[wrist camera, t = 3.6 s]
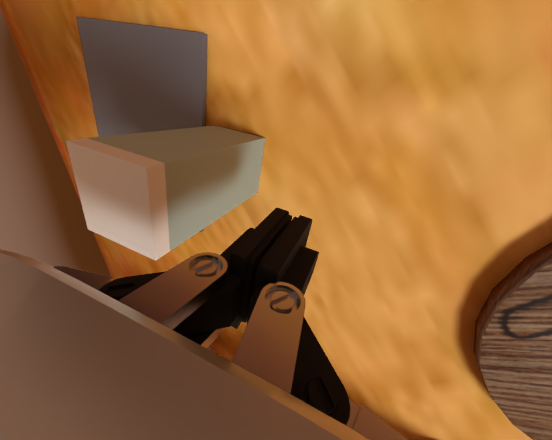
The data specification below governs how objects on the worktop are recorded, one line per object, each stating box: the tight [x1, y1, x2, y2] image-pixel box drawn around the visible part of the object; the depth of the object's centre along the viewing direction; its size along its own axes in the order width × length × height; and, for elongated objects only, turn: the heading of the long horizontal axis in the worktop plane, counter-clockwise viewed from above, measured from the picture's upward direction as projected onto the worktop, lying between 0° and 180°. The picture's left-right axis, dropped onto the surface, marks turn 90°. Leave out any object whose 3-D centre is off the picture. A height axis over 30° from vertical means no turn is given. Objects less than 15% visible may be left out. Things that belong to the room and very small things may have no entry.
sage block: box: [66, 125, 265, 261], centre depth 17 cm, size 5×5×12 cm
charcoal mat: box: [77, 17, 207, 232], centre depth 25 cm, size 14×18×1 cm
